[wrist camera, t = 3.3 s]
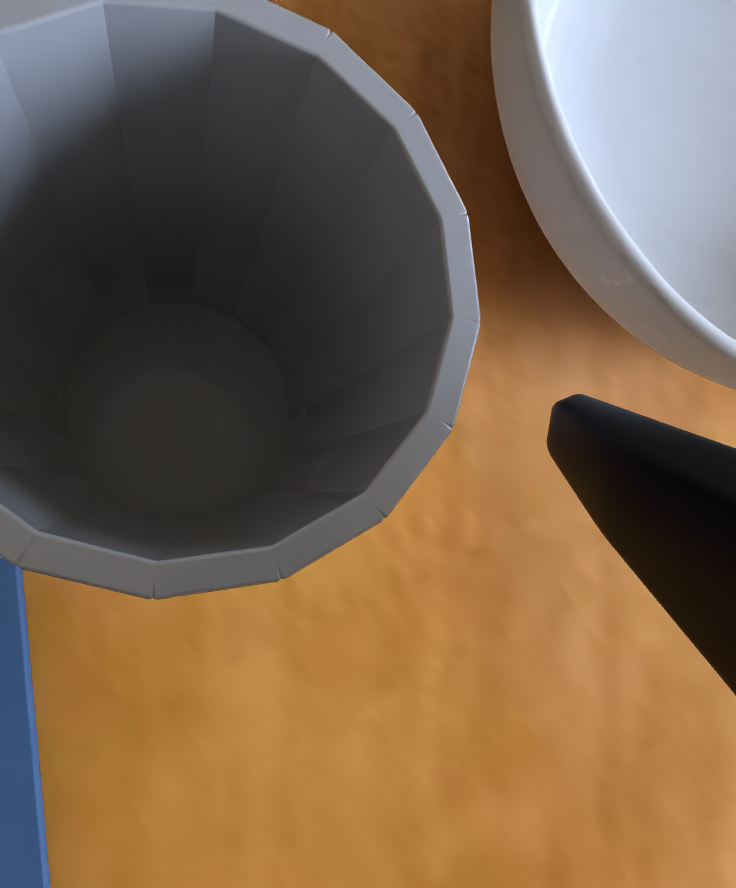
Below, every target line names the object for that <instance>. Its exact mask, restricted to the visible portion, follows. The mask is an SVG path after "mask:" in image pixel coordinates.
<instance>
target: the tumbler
mask: <svg viewBox="0 0 736 888" xmlns="http://www.w3.org/2000/svg"><path fill="white" fill-rule="evenodd" d="M466 213H467V211H466V208H465V206H464V204H463V202H462V200H461V198H460V196H459V194H458V192H457V190H456V188H455V186H454V184H453V182H452V181H451V179H450V177H449V175H448V173H447V171H446V169H445V167H444V165H443V163H442V161H441V159H440V157H439V155H438V153H437V151H436V149H435V147H434V145H433V143H432V141H431V139H430V137H429V135H428V133H427V131H426V129H425V127H424V125H423V123H422V121H421V119H420V117H419V115H418V114H415V110H414V109H413V108H412V107H411V106H410V105H409V104H408V103H407V102H406V101H405V100H404V99H403V98H402V97H401V96H400V95H399V94H398V93H397V92H396V91H394V90H393V89H392V88H391V87H390V86H389V85H388V84H387V83H386V82H385V81H384V80H383V79H382V78H381V77H380V76H379V75H378V74H377V73H376V72H375V71H374V70H373V69H372V68H371V67H370V66H368V65H367V64H366V63H365V62H364V61H363V60H362V59H361V58H360V57H359V56H358V55H357V54H356V53H355V52H354V51H353V50H352V49H351V48H350V47H349V46H348V45H347V44H346V43H345V42H344V41H342V40H341V39H340V38H339V37H338V36H337V35H336V34H335V33H334V32H331V33H330V30H329V29H328V28H326V27H324V26H322V25H320V24H317V23H315V22H313V21H311V20H309V19H307V18H304V17H302V16H300V15H298V14H296V13H294V12H291V11H289V10H287V9H285V8H283V7H281V6H278V5H276V4H274V3H272V2H270V1H268V0H0V556H1V557H2V558H3V559H5V560H6V561H8V562H9V563H10V564H12V565H15V566H16V565H18V567H19V568H21V569H24V570H28V571H32V572H36V573H40V574H44V575H49V576H53V577H57V578H61V579H65V580H70V581H74V582H78V583H82V584H86V585H90V586H95V587H99V588H103V589H107V590H111V591H115V592H120V593H124V594H128V595H132V596H136V597H140V598H145V599H152V597H153V598H154V599H157V600H159V599H165V598H172V597H179V596H185V595H192V594H199V593H206V592H212V591H219V590H226V589H232V588H239V587H246V586H252V585H259V584H266V583H272V582H278V581H279V580H280V579H286V578H288V577H289V576H291V575H293V574H294V573H296V572H298V571H300V570H301V569H303V568H305V567H306V566H308V565H310V564H311V563H313V562H315V561H316V560H318V559H320V558H321V557H323V556H325V555H327V554H328V553H330V552H332V551H333V550H335V549H337V548H338V547H340V546H342V545H343V544H345V543H347V542H348V541H350V540H352V539H353V538H355V537H357V536H359V535H360V534H362V533H364V532H365V531H367V530H369V529H370V528H372V527H374V526H375V525H377V524H379V523H380V522H382V521H383V519H384V518H386V517H387V516H388V515H389V514H390V513H391V511H392V510H393V509H394V507H395V506H396V505H397V503H398V502H399V501H400V499H401V498H402V497H403V495H404V494H405V493H406V491H407V490H408V489H409V487H410V486H411V485H412V483H413V482H414V481H415V479H416V478H417V477H418V475H419V474H420V473H421V471H422V470H423V469H424V467H425V466H426V465H427V463H428V462H429V461H430V459H431V458H432V457H433V455H434V454H435V453H436V451H437V450H438V449H439V447H440V446H441V445H442V443H443V442H444V441H445V439H446V438H447V437H448V435H449V434H450V433H451V430H452V429H451V428H452V427H453V426H454V424H455V420H456V416H457V412H458V409H459V405H460V401H461V397H462V393H463V389H464V386H465V382H466V378H467V374H468V370H469V366H470V363H471V359H472V355H473V351H474V347H475V343H476V340H477V336H478V332H479V328H480V324H479V322H480V311H479V302H478V294H477V285H476V276H475V268H474V259H473V251H472V242H471V234H470V225H469V217H468V215H466Z"/></svg>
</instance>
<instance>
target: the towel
mask: <svg viewBox="0 0 736 888" xmlns="http://www.w3.org/2000/svg"><path fill="white" fill-rule="evenodd" d="M0 888H50V878H49V867H48V855H47V844H46V833H45V822H44V811H43V799H42V788H41V777H40V766H39V755H38V743H37V732H36V721H35V710H34V699H33V687H32V676H31V665H30V654H29V643H28V631H27V620H26V609H25V598H24V587H23V575H22V569H21V568H19V567H18V565H16V566H15V565H12V564H10V563H9V562H8V561H6V560H5V559H3V558H2V557H1V556H0Z"/></svg>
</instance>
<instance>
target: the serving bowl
mask: <svg viewBox="0 0 736 888" xmlns="http://www.w3.org/2000/svg"><path fill="white" fill-rule="evenodd" d="M491 57H492V71H493V79H494V87H495V95H496V101H497V106H498V111H499V116H500V122H501V127H502V131H503V134H504V138H505V142H506V145H507V149H508V152H509V156H510V159H511V162H512V165H513V167H514V170H515V173H516V176H517V178H518V181H519V184H520V186H521V189H522V191H523V193H524V195H525V198H526V200H527V202H528V204H529V206H530V208H531V210H532V212H533V214H534V216H535V219H536V221H537V223H538V224H539V226H540V228H541V229H542V231H543V233H544V235H545V236H546V238H547V240H548V241H549V243H550V245H551V246H552V248H553V249H554V251H555V252H556V254H557V255H558V257H559V258H560V259H561V261H562V262H563V264H564V265H565V266H566V268H567V269H568V270H569V272H570V273H571V275H572V276H573V277H574V278H575V280H576V281H577V282H578V283H579V284H580V285H581V287H582V288H583V289H584V290H585V291H586V292H587V294H588V295H589V296H590V297H591V298H592V299H593V300H594V301H595V302H596V303H597V304H598V305H599V306H600V307H601V308H602V309H603V310H604V311H605V312H606V313H607V314H608V315H609V316H610V317H612V318H613V319H614V320H615V321H616V322H617V323H618V324H619V325H621V326H622V327H623V328H624V329H625V330H626V331H628V332H629V333H630V334H631V335H633V336H634V337H635V338H637V339H638V340H639V341H641V342H642V343H644V344H645V345H647V346H648V347H649V348H651V349H652V350H654V351H655V352H657V353H658V354H660V355H661V356H663V357H665V358H667V359H668V360H670V361H672V362H673V363H675V364H677V365H679V366H680V367H682V368H684V369H687V370H689V371H691V372H693V373H695V374H697V375H700V376H702V377H704V378H706V379H708V380H710V381H713V382H716V383H718V384H721V385H723V386H726V387H729V388H732V389H736V0H492V6H491Z"/></svg>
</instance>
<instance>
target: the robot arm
mask: <svg viewBox="0 0 736 888" xmlns="http://www.w3.org/2000/svg"><path fill="white" fill-rule="evenodd" d="M547 447H548V450H549V453H550V455H551V457H552V459H553V460H554V462H555V463H556V465H557V466H558V468H559V469H560V471H561V472H562V474H563V475H564V477H565V478H566V480H567V481H568V483H569V484H570V486H571V487H572V489H573V490H574V492H575V493H576V495H577V496H578V498H579V500H580V501H581V503H582V504H583V506H584V507H585V509H586V510H587V512H588V513H589V515H590V516H591V518H592V519H593V521H594V522H595V524H596V525H597V526H598V528H599V529H600V531H601V532H602V534H603V535H604V536H605V537H606V539H607V540H608V541H609V542H610V544H611V545H612V546H613V547H614V549H615V550H616V551H617V552H618V553H619V555H620V556H621V557H622V558H623V560H624V561H625V562H626V563H627V564H628V566H629V567H630V568H631V569H632V570H633V572H634V573H635V574H636V575H637V576H638V578H639V579H640V580H641V581H642V583H643V584H644V585H645V586H646V587H647V589H648V590H649V591H650V592H651V593H652V595H653V596H654V597H655V598H656V599H657V601H658V602H659V603H660V604H661V605H662V607H663V608H664V609H665V610H666V612H667V613H668V614H669V615H670V616H671V618H672V619H673V620H674V621H675V622H676V624H677V625H678V626H679V627H680V628H681V630H682V631H683V632H684V633H685V635H686V636H687V637H688V638H689V639H690V641H691V642H692V643H693V644H694V645H695V647H696V648H697V649H698V650H699V651H700V653H701V654H702V655H703V656H704V657H705V659H706V660H707V661H708V662H709V664H710V665H711V666H712V667H713V668H714V670H715V671H716V672H717V673H718V674H719V676H720V677H721V678H722V679H723V680H724V682H725V683H726V684H727V685H728V687H729V688H730V689H731V690H732V691H733V693H734V694H735V695H736V448H733V447H730V446H727V445H724V444H721V443H719V442H716V441H713V440H710V439H707V438H704V437H702V436H699V435H696V434H693V433H690V432H688V431H685V430H682V429H679V428H676V427H673V426H671V425H668V424H665V423H662V422H659V421H656V420H654V419H651V418H648V417H645V416H642V415H640V414H637V413H634V412H631V411H628V410H625V409H623V408H620V407H617V406H614V405H611V404H608V403H606V402H603V401H600V400H597V399H594V398H592V397H589V396H586V395H582V394H576V395H572V396H570V397H568V398H565V399H563V400H560V401H558V402H556V403H555V405H554V406H553V408H552V412H551V418H550V424H549V430H548V436H547Z"/></svg>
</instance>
